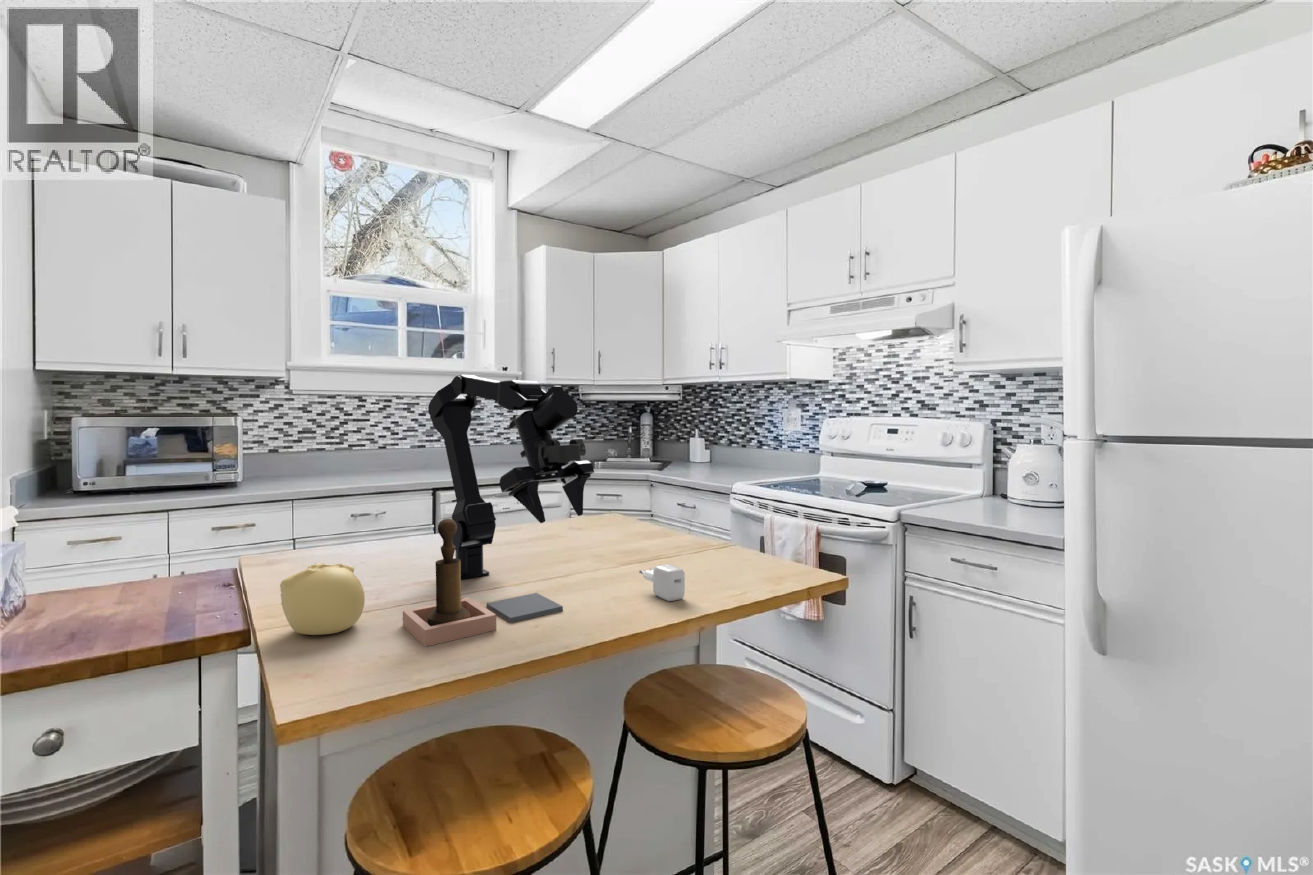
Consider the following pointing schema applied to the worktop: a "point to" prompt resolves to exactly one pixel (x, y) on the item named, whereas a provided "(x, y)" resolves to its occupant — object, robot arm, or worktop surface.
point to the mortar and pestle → (448, 580)
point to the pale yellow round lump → (322, 599)
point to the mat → (524, 607)
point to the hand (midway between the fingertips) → (562, 518)
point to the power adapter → (666, 581)
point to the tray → (431, 635)
